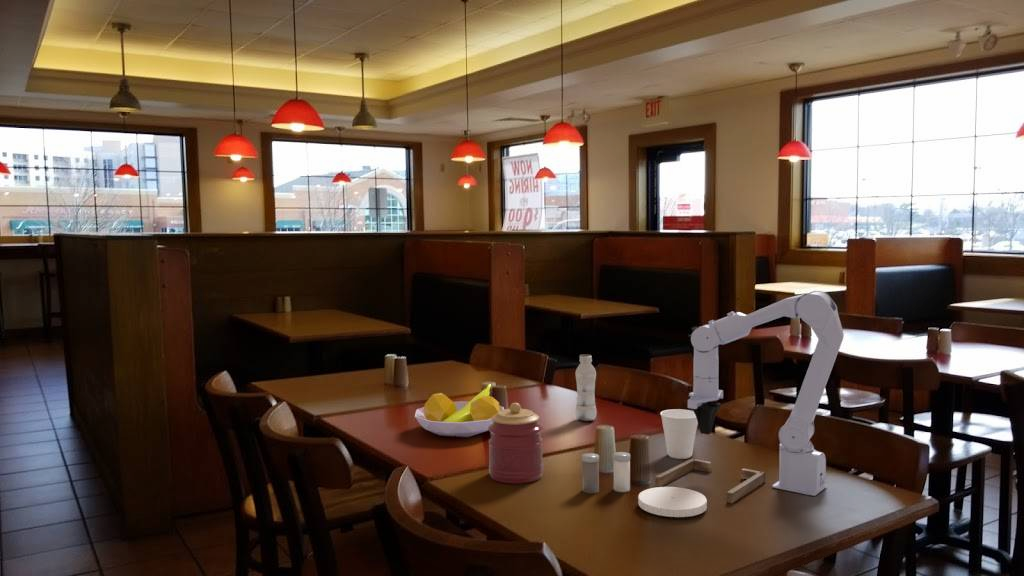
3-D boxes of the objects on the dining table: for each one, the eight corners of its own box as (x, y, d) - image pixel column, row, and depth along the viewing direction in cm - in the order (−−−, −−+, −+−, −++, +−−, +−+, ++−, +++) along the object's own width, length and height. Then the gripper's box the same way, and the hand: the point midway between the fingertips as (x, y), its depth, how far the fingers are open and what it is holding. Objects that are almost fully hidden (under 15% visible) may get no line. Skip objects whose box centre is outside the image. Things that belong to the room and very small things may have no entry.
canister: (481, 471, 190) (480, 399, 189) (531, 465, 195) (530, 395, 193) (499, 487, 178) (498, 411, 177) (552, 480, 182) (551, 406, 181)
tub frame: (765, 482, 179) (765, 472, 179) (732, 503, 166) (732, 493, 166) (691, 467, 191) (691, 458, 191) (655, 486, 178) (655, 476, 177)
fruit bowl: (450, 449, 210) (450, 407, 209) (397, 430, 230) (396, 392, 230) (530, 431, 227) (529, 392, 226) (474, 414, 248) (473, 379, 247)
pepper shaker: (602, 490, 175) (602, 455, 175) (593, 494, 172) (592, 459, 172) (588, 486, 178) (588, 452, 177) (578, 491, 175) (578, 456, 174)
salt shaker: (633, 488, 176) (633, 454, 175) (624, 493, 173) (624, 458, 172) (619, 485, 178) (619, 451, 178) (610, 489, 175) (609, 454, 175)
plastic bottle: (596, 417, 241) (596, 353, 240) (596, 423, 235) (596, 357, 233) (575, 417, 242) (575, 353, 241) (575, 423, 235) (574, 357, 234)
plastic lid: (700, 525, 155) (701, 513, 154) (631, 516, 160) (631, 504, 160) (711, 502, 167) (711, 491, 167) (646, 494, 173) (646, 483, 173)
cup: (671, 463, 194) (671, 419, 194) (653, 452, 204) (653, 410, 203) (706, 459, 197) (707, 416, 196) (687, 448, 207) (688, 407, 206)
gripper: (704, 369, 192) (703, 424, 193) (675, 379, 180) (675, 437, 182) (731, 373, 187) (731, 428, 188) (703, 382, 176) (703, 442, 177)
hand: (705, 433), depth 184 cm, fingers closed
